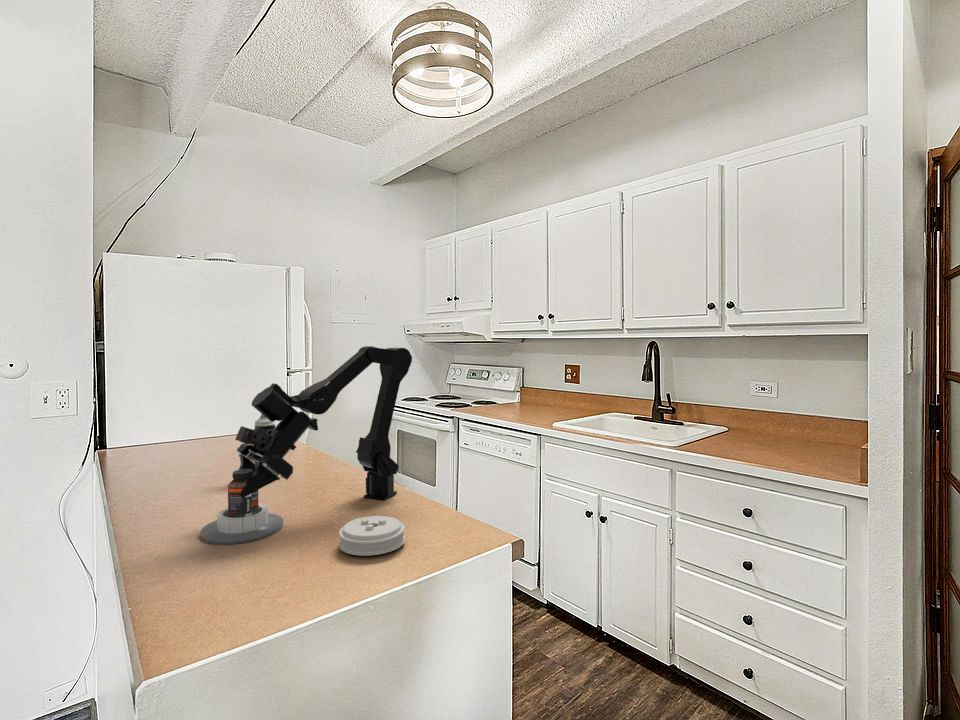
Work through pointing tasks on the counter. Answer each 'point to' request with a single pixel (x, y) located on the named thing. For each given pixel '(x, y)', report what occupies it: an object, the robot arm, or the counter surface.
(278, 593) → the counter surface
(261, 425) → the spray can
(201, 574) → the counter surface
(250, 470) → the supplement bottle
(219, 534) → the ring mount
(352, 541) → the lid
